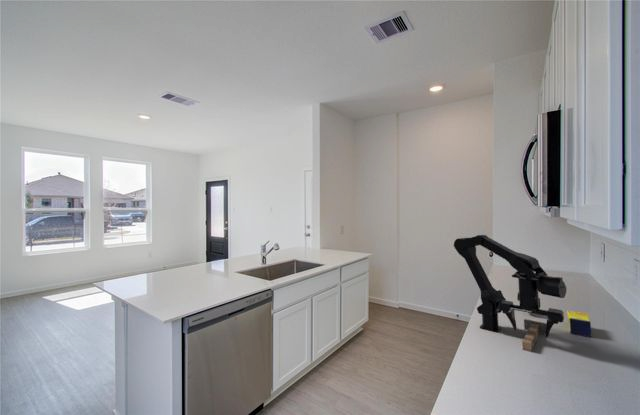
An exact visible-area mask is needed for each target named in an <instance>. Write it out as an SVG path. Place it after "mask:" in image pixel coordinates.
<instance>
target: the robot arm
mask: <svg viewBox="0 0 640 415" xmlns="http://www.w3.org/2000/svg"><path fill="white" fill-rule="evenodd" d="M478 246H481V247H482V248H485V249H486V250H488V251H490V252H492V253H494V254H495V255H497V257H500V258H501V259H503V260H505V261H506V262H508V263H509V265H510V266H511V267H512V268H513V269H514V270H516V271H515V272H514V273H513V274H511V277H512V278H516V279H518V280H517V281H518V282H517V283H518V292H517V298H516V299H517V301H518V302H519V305H518V304H514V302H513V301H509V300H507V299H506V298H505V297H504V294H503V292H502V290H501V289H498V290H497V289H496V288H494V286H493V285H492V283H491V281H490V279H489V278H488V275H487V273H486V271H485V270H484V267H483V265H482V264H481V262H480V260H479V258H478V256H477V247H478ZM453 247H454V249H455V251H456V252H457V253H458V254H459V256H461V257H462V258H464V260H465V262H466V264H467V267H468V268H469V270H470V272H471V275H472V276H473V279H474V281H475V282H476V284H477V286H478V288H479V290H480V300H481V304H480V305H479V306H477V307H476V310H477V313H478V314H479V315H481V317H482V318H481V322H482V323H481V325H479V329H483V330H485V331H486V330H487V331H490V332H494V333H495V332H496V333H499V331H500V330H501V328H502V326H501V325H499V314H500V313H503V314H505V315H506V317H507V318H508V320H509V323H510V324H511V326H512V328H513V330H514V331H517V322H516V315H515V314H516V313H515V312H516V311H519V312H524V313H528V314H529V313H533V314H534V315H540V316H546V317H547V319H546V323H547V324H546V334H545V338H548V337H549V334H550V331H551V329H552V328H553V326H554V325H555V324H556V325H558V324H559V323H564V319H565V313H564V311H563V310H562V309H558V308H552V307H549V308H548V310H546V309H541V298H540V297H539V293H540V294H541V295H544V296H549V297H556V298H560V299H564V298H565V297H566V294H567V286H566V283H565V282H564V280H563V277H562V276H561V277H560V276H550V275H548V274H547V272H546V271H545V270H544V269H543V268H542V266H541V265H540V263H539V260H538V259H537V258H536V257H533V256H530V255H529V254H528V255H527V254H525V253H523V252H522V253H521V252H517V251H515V250H513V249H510V248H509V247H507V246H505V245H503V244H502V243H500V242H498V241H496V240H494V239H492V238H490V237H489V236H488V235H486V234H478V235H475V236H472V237H460V238H456V239H455V240H454V242H453ZM525 309H526V310H525ZM533 314H532V315H533Z"/></svg>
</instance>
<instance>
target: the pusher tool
mask: <svg viewBox="0 0 640 415" xmlns="http://www.w3.org/2000/svg"><path fill="white" fill-rule="evenodd" d="M546 324H547V322H541V321H535V320H532V319H525V318H524V319H523V328H524V330H525V331H527V332H526V333H525V335H524V336H523V337H524V338H523V339H522V340H521V342H522V343H521V345H522V346H521V347H522V350H523V351H527V352H529V353H532V351H533V349H534V346H535V344H536V343H537V342H536V341H537V340H538V337H539V335H540V334H543V335H546Z"/></svg>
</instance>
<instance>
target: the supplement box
mask: <svg viewBox="0 0 640 415" xmlns="http://www.w3.org/2000/svg"><path fill="white" fill-rule="evenodd" d="M566 312H567V325H568V330H569V334H571V335H577V336H582V337H587V338H591V337H592V325H591V320H590V318H589V316H588V313H587V312H578V311H573V310H567V311H566Z"/></svg>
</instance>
